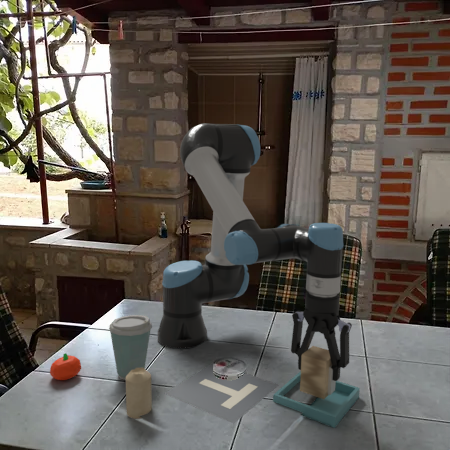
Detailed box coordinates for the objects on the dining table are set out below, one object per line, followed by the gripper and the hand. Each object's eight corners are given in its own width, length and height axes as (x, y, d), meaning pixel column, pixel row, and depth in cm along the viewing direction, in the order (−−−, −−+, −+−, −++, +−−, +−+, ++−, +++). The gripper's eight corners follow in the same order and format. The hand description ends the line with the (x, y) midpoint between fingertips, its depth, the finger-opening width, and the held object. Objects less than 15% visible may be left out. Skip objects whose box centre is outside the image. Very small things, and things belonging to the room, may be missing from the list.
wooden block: (299, 391, 108) (301, 354, 107) (311, 380, 113) (312, 345, 111) (324, 399, 105) (326, 361, 103) (334, 388, 110) (336, 352, 108)
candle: (146, 420, 101) (145, 377, 99) (122, 417, 102) (121, 375, 100) (155, 406, 106) (154, 366, 104) (132, 403, 107) (131, 363, 105)
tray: (273, 404, 108) (273, 394, 107) (301, 378, 120) (302, 369, 119) (334, 428, 99) (335, 417, 99) (359, 397, 111) (359, 387, 111)
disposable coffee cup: (101, 380, 118) (100, 323, 115) (124, 361, 127) (123, 309, 125) (138, 388, 114) (137, 330, 111) (159, 368, 124) (159, 314, 121)
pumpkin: (44, 384, 116) (40, 359, 115) (66, 370, 124) (63, 346, 123) (67, 386, 114) (63, 361, 113) (88, 372, 121) (85, 348, 120)
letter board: (163, 396, 110) (163, 393, 110) (214, 364, 126) (214, 361, 126) (233, 426, 99) (233, 423, 99) (279, 387, 115) (279, 384, 115)
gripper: (277, 288, 107) (274, 381, 111) (358, 305, 96) (351, 408, 100) (292, 280, 113) (288, 369, 117) (370, 296, 102) (363, 393, 106)
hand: (317, 387), depth 109 cm, fingers closed on wooden block, 6 cm apart
